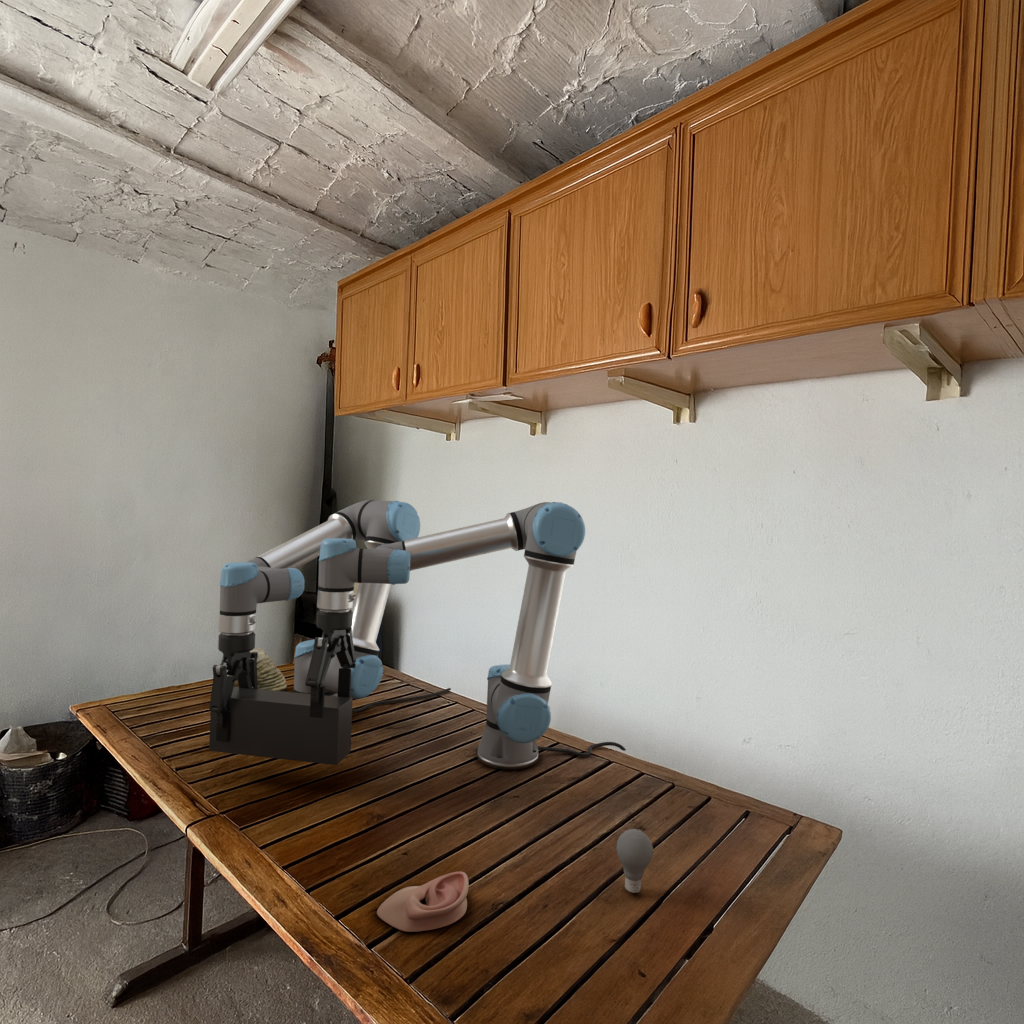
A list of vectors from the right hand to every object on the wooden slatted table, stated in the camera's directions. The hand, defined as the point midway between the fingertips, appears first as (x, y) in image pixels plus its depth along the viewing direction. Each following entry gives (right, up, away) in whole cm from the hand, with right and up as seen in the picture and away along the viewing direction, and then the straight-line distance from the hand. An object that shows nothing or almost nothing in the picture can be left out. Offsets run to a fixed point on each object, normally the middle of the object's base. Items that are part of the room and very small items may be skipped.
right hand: (330, 706), depth 138 cm
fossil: (-41, -15, +60) cm, 74 cm away
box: (-12, -10, +2) cm, 16 cm away
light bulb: (+60, -21, -32) cm, 71 cm away
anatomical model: (+26, -20, -39) cm, 51 cm away
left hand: (-23, -7, +4) cm, 24 cm away
